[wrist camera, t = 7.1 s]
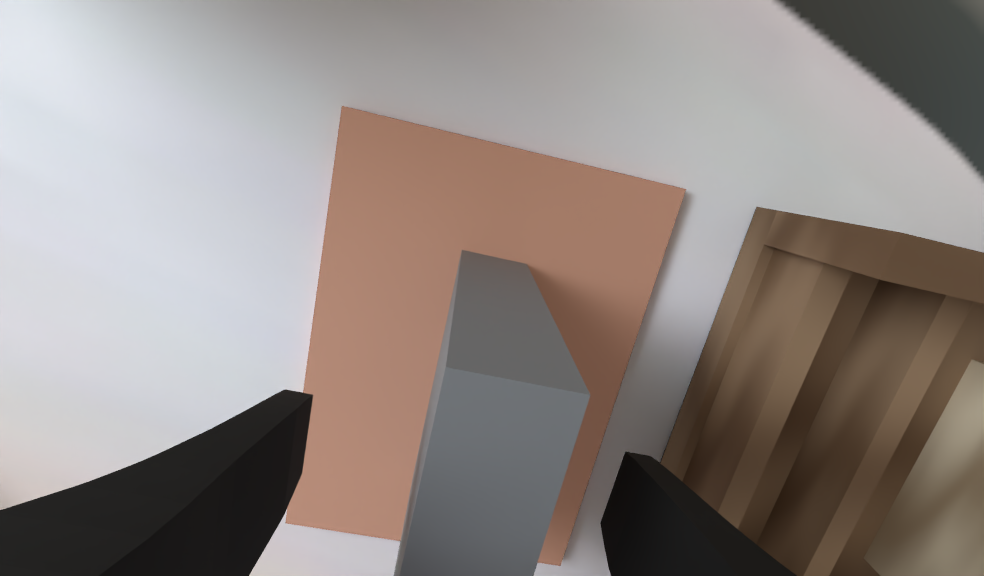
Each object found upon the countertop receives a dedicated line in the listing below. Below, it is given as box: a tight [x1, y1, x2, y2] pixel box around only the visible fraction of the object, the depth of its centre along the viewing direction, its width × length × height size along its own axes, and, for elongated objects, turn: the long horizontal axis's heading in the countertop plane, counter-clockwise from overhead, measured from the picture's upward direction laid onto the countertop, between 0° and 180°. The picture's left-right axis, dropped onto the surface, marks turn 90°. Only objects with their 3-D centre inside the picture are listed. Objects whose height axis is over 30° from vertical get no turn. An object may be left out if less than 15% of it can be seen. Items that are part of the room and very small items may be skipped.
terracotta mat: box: [286, 106, 686, 566], centre depth 15 cm, size 14×10×1 cm
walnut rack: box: [660, 207, 984, 576], centre depth 14 cm, size 14×14×5 cm
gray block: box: [394, 250, 590, 576], centre depth 11 cm, size 8×2×8 cm, turn 167°
